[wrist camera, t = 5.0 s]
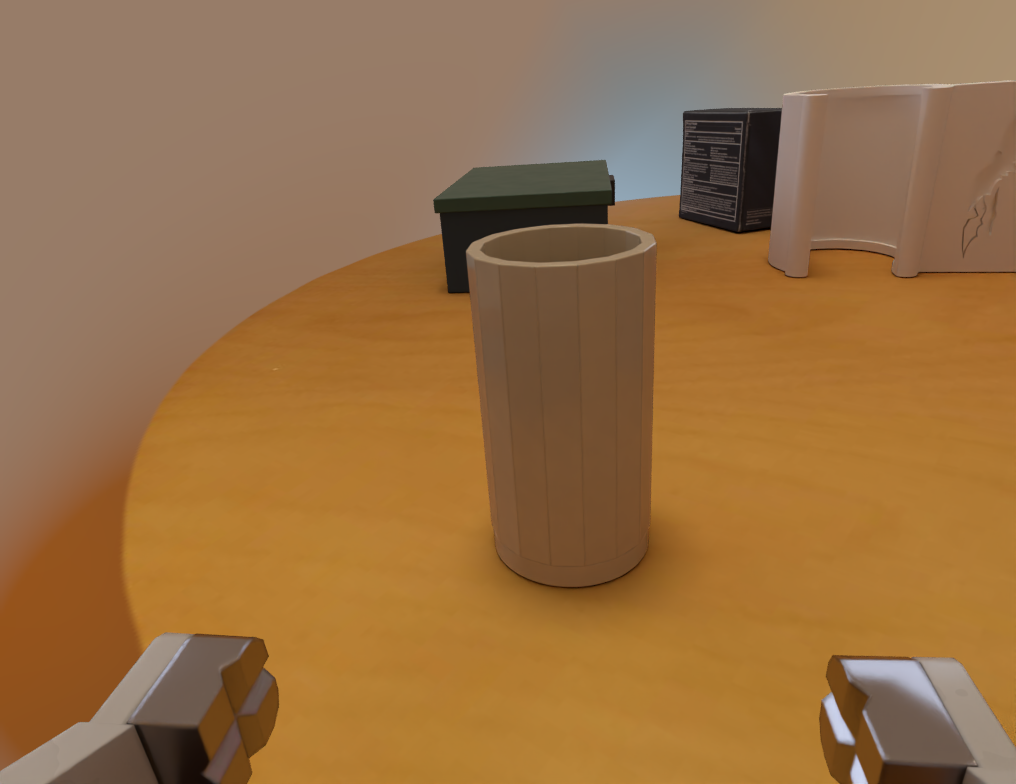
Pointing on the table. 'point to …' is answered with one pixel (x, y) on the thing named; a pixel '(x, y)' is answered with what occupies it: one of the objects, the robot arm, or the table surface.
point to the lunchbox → (518, 205)
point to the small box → (730, 166)
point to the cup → (566, 396)
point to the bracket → (898, 176)
